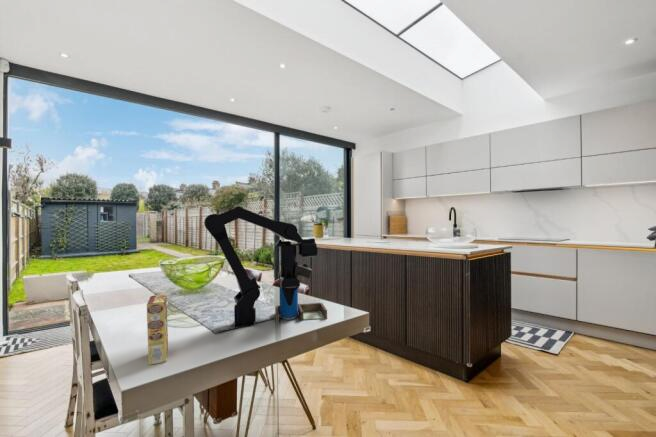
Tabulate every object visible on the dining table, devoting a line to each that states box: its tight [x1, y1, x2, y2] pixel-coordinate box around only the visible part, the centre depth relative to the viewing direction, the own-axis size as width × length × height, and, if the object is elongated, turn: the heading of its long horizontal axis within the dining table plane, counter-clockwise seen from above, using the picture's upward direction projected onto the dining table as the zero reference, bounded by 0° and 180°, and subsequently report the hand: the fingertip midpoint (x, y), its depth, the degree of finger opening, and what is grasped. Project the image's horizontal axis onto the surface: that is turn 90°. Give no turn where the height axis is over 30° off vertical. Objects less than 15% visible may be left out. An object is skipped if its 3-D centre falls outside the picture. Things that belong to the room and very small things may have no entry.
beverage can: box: [279, 285, 299, 321], centre depth 116 cm, size 6×6×12 cm
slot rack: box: [274, 302, 328, 323], centre depth 117 cm, size 18×10×3 cm, turn 101°
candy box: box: [146, 294, 169, 366], centre depth 84 cm, size 9×4×15 cm, turn 23°
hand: (288, 302), depth 116 cm, fingers open, 9 cm apart
